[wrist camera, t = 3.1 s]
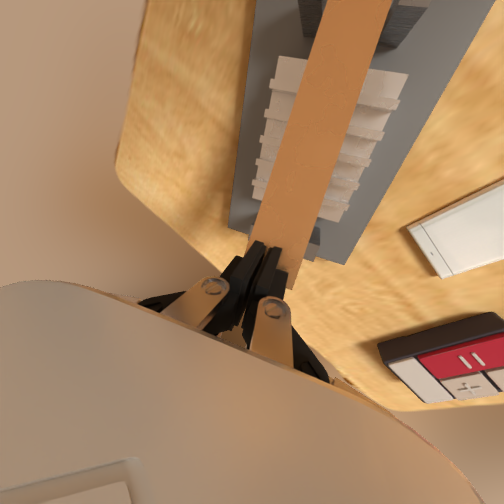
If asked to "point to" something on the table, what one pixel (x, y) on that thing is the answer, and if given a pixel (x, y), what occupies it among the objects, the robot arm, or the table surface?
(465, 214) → the hard drive
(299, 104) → the retention strap
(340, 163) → the heat sink
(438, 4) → the grey mounting plate
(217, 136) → the table surface
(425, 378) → the calculator
